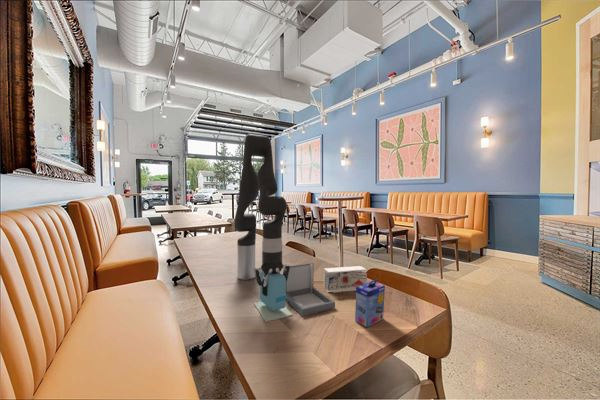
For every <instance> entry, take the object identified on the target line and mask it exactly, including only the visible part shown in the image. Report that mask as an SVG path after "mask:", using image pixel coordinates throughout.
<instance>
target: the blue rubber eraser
mask: <svg viewBox="0 0 600 400" xmlns="http://www.w3.org/2000/svg"><path fill="white" fill-rule="evenodd" d="M263 275H264V272H263V271H261V274H260V278H261V281H262V279H263ZM265 277H266V275H265ZM266 286H267V296H264V295H263V294H262V286H259V300H260V302H263V303H264V304H265V305H267V306H268V307H269V308H270V309H272V310H273V311H276V310H279V309H282V308H285V307H286V306H287V300H286V279H285V276H284V275H283V273H282V274H281V273H280V274H271V275H269V280H268V282H267V285H266Z"/></svg>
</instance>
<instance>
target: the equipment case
mask: <svg viewBox="0 0 600 400" xmlns="http://www.w3.org/2000/svg"><path fill="white" fill-rule="evenodd" d="M289 266H290V269H289V274H288V279H287V281H286V302H288V303H289V305H291V307H292V308H294V310H296V312H297V313H298V314H300V315H301V317H304V316H308V315H309V316H310V315H313V314H317V313H321V312H325V311H330V310H334V309H336V302H335V301H334V299H332V298H330V297H329V296H327V295H326V294H324V293H323V292H321V291H320V290H319V289H317V288H316V287H314V266H315V265H314V262H308V263H301V264H294V265H289ZM282 270H283V269H282ZM283 271H284V270H283ZM283 271H282V272H283Z"/></svg>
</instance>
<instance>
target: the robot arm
mask: <svg viewBox="0 0 600 400" xmlns="http://www.w3.org/2000/svg"><path fill="white" fill-rule="evenodd" d="M253 157H260V158H263V162H262V165H260V168H259V169H258V171H255V167H254V165H253V160H252V158H253ZM238 190H239V192H238V201H237V207H236V211H235V216H234V222H233V223H234V224H233V226H234V230H235V231H236V232H239V233H241V232H242V233H245V232H247V233H246V234H245V235H244V236H241V237H240V238H238V239H237V246H236V247H237V248H236V249H237V251H236V252H237V257H236V259H237V263H236V264H237V269H236V271H237V273H236V274H237V276H236V277H237V279H239V280H246V281H247V280H252V279H254V278H255V281H256V284H257V285H258V286H259V287H260V286H262V294H263V295H264V296H267V286H266V285H267V282H268V280H269V275H271V274H281V271H282V270H284V271H282V275H284V276H285V279H286V281H287V279H288V274H289V269H290V266H291V265H289V264H287V263H286V264H283V240H282V239H283V238H282V237H283V236H282V233H283V232H282V229H283V222H284V218H285V215H286V210H287V206H288V205H287V200H286V199H285V198H284V197H283V196H281V195H278V196H276V195H275V194H277V192H278V183H277V180H276V177H275V170H274V160H273V148H272V142H271V139H270V138H269V136H267V135H259V134H251V133H250V134H249V133H248V134H246V136H245V138H244V145H243V160H242V170H241V176H240V183H239V189H238ZM274 195H275V196H274ZM257 198H258V202H257V210H258V212H259V213H260V214H261V215H263V216H274V217H273V219H272V220H271V219H270V220H268V221H265V222H264V223H263V225H262V241H261V243H262V244H261V246H262V247H261V256H262V257H261V266H260V267H258V268H256V241H257V240H256V239H257V217H256V214H254V213H246V210H247V209H248V208H249V207H250V206H251V205H252V204H253V202H254V201H255V200H256V199H257ZM261 271H263V272H264V275H263V279H262V281H261V278H260V274H261ZM265 275H266V277H265Z"/></svg>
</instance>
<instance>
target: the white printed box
mask: <svg viewBox="0 0 600 400" xmlns="http://www.w3.org/2000/svg"><path fill="white" fill-rule="evenodd" d="M363 271H364V272H363ZM365 271H367V268H365V267H363V266H361V265H355V266H340V267H325V268H323V289H324V288H325V289H326V290H327V291H326V290H325V289H324V290H325V291H326V292H327V293H328V292H333V293H341V292H342V291H343V292H353V291H356V287H357V286H360V285H362V284H366V283H368V282H367V281H368V280H367V279H368V272H365Z"/></svg>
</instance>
